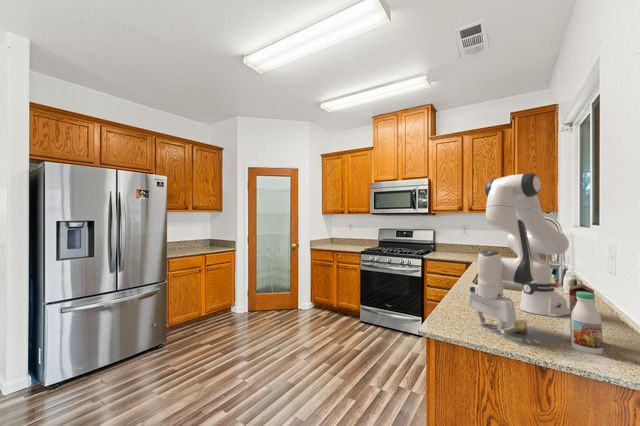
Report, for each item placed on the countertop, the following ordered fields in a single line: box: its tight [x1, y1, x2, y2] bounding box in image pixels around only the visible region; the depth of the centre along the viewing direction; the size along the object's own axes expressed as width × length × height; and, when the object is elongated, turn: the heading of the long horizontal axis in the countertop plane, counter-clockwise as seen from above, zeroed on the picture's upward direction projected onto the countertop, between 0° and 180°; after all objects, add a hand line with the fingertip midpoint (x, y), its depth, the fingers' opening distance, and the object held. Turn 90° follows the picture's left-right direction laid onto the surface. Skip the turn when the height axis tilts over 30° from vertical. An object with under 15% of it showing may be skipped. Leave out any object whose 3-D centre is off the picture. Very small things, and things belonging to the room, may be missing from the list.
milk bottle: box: [570, 291, 604, 355], centre depth 97 cm, size 8×8×20 cm
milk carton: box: [569, 280, 596, 330], centre depth 106 cm, size 7×7×22 cm
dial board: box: [481, 323, 566, 347], centre depth 111 cm, size 19×19×1 cm
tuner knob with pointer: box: [501, 319, 528, 334], centre depth 110 cm, size 12×4×4 cm, turn 112°
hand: (491, 326), depth 115 cm, fingers open, 8 cm apart
